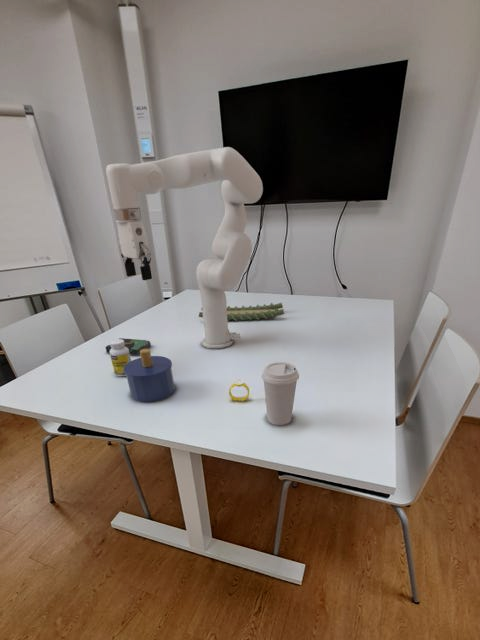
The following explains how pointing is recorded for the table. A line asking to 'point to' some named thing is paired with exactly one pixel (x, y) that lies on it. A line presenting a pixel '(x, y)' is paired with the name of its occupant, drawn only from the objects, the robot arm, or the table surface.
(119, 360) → the pill bottle
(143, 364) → the lid
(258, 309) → the green spiky bar
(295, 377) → the coffee cup
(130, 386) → the tin
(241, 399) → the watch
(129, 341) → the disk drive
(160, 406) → the table surface
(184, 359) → the table surface
